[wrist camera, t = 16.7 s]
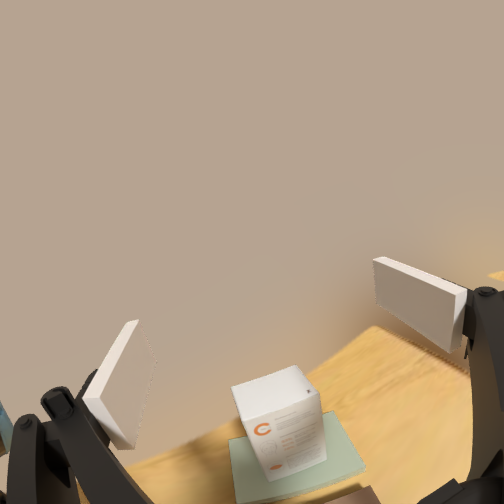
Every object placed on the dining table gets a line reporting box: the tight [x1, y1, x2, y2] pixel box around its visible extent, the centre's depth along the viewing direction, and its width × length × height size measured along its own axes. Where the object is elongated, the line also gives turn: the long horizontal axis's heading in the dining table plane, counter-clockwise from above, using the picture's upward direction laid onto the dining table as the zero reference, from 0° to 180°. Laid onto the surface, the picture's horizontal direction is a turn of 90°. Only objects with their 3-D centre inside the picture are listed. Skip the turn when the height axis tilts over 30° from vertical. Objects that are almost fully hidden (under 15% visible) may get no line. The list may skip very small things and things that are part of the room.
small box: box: [231, 365, 327, 482], centre depth 28 cm, size 8×6×13 cm
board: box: [228, 411, 366, 504], centre depth 29 cm, size 16×12×2 cm
